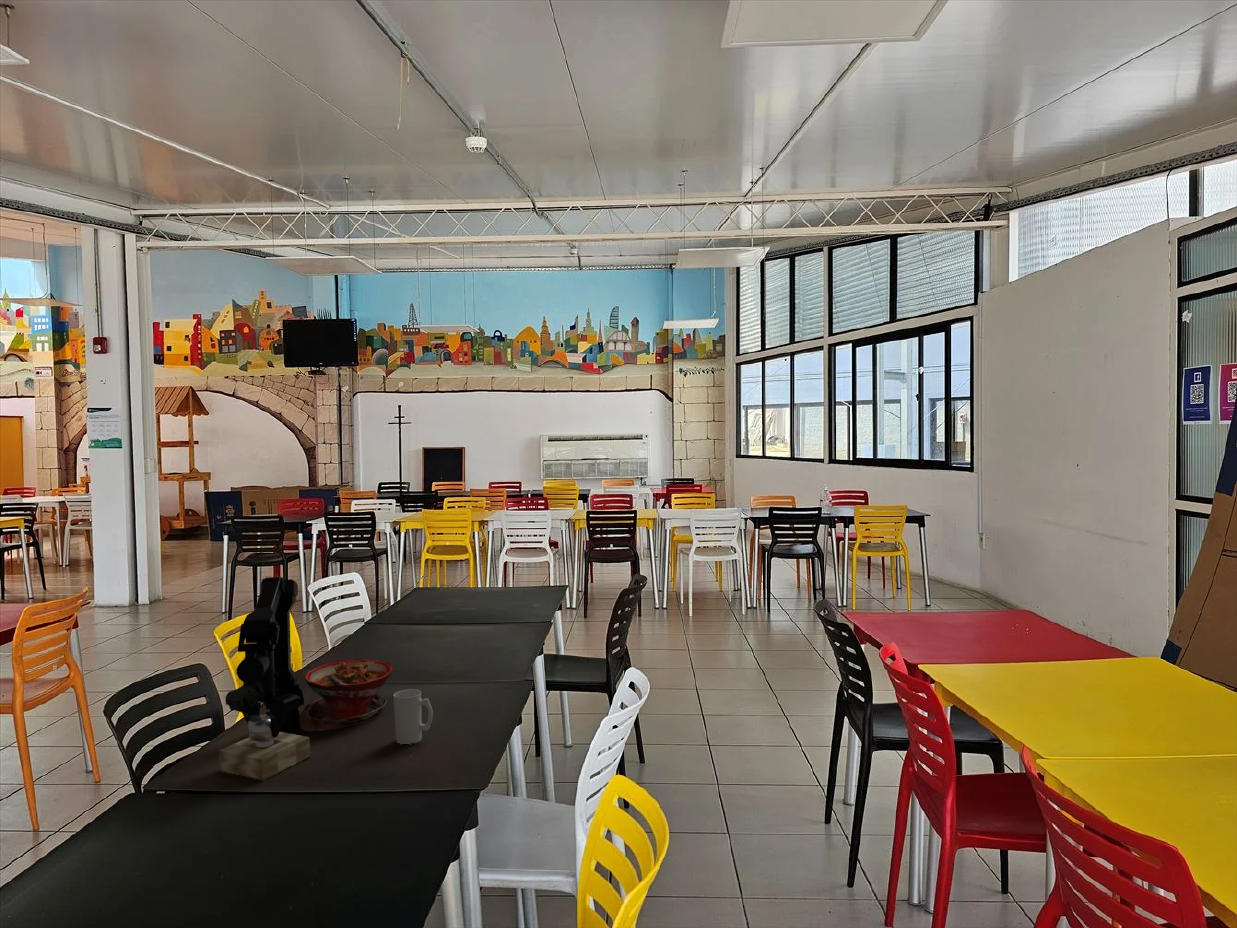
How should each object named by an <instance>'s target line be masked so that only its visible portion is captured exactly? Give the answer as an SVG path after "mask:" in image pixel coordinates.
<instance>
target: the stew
mask: <svg viewBox="0 0 1237 928" xmlns="http://www.w3.org/2000/svg"><path fill="white" fill-rule="evenodd" d="M393 669H394V666H393V665H392V664H391V663H389V662H387V661H384V660H375V659H355V658H354V659H353V658H349V659H344V660H338V661H332V662H328V663H324V664H321V665H319V666H317V667H315V668H312V669H310V670H309V671H307V672H306V673H305V674H304V681H305V682H306V683H307V685H308V687H309V688H310V689H311V690H312V691H313V693H315V694H317V695H318V696H320V698H317V699H316V700H314V701H313V702H312V703H308V704H307V705H306V706H305V708H303V710H302V711H301V712H299V720H300V724H301V725H302V724H303V725H302V726H300V729H301V730H302V731H305V732H306V731H310V732H314V730H316V731H319V730H320V732H321V731H331V730H330V729H333V730H338V728H339V729H343V728H346V727H348V726H353V725H358V724H361V723H364V722H368V721H369V719H370V720H372V719H374V718H376V717H377V716H378V715H380V713H381V712H382V708H384V707H385V706H386V705H387V703H388V701H387V699H386V697H385V696H382V695H379V693H380V690H381V689H382V688H383V687H384V685H385V683H386V681H387V680H388V679H389V677H391V674H392V673H393ZM379 700H383V702H382V704H381V702H380V701H379ZM368 708H370V709H372V711H368V710H367V709H368ZM373 709H374V710H373ZM367 711H368V712H367ZM356 718H359V719H356ZM353 719H356V720H353ZM312 730H313V731H312Z"/></svg>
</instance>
